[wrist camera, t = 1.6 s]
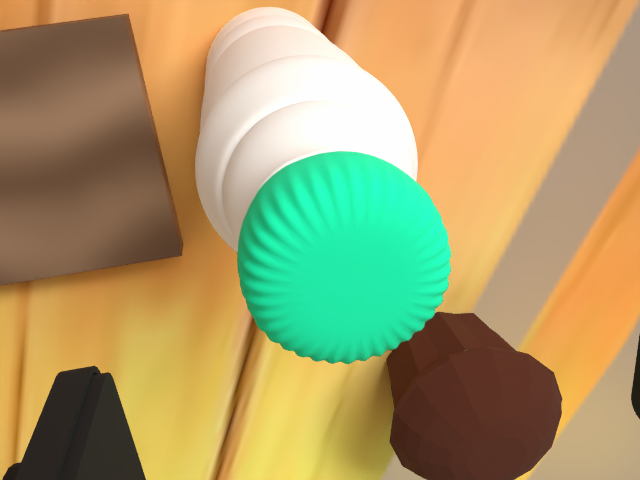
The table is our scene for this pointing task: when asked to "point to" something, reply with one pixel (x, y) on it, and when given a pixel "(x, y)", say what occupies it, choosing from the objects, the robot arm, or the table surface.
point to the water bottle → (316, 191)
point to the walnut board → (79, 153)
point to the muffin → (469, 403)
